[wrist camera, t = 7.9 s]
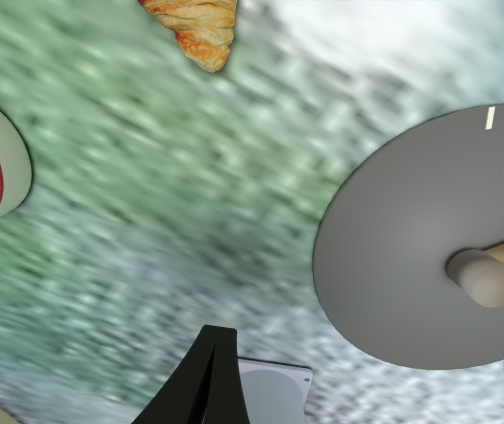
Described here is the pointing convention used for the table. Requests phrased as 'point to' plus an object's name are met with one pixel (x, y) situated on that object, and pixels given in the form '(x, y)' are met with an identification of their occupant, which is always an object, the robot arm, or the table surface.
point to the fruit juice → (12, 167)
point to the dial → (417, 244)
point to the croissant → (198, 27)
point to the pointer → (480, 275)
